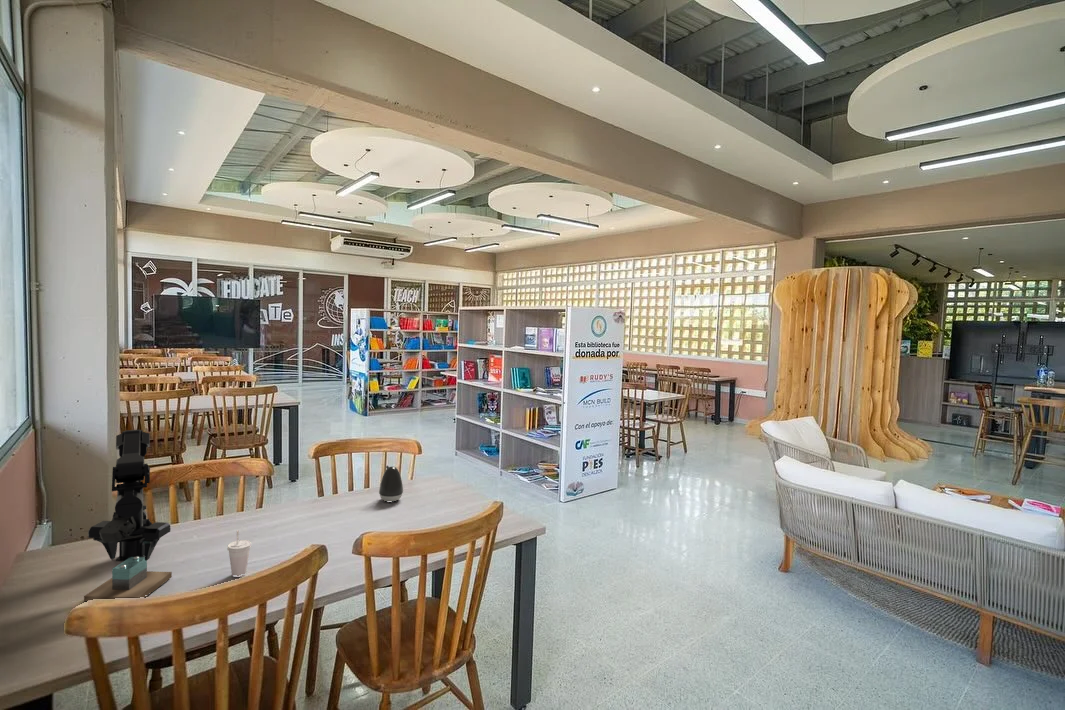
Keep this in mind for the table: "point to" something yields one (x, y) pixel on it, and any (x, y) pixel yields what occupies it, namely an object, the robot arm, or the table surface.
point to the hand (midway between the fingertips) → (130, 559)
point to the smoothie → (239, 555)
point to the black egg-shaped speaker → (391, 485)
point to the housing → (129, 573)
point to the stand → (137, 591)
